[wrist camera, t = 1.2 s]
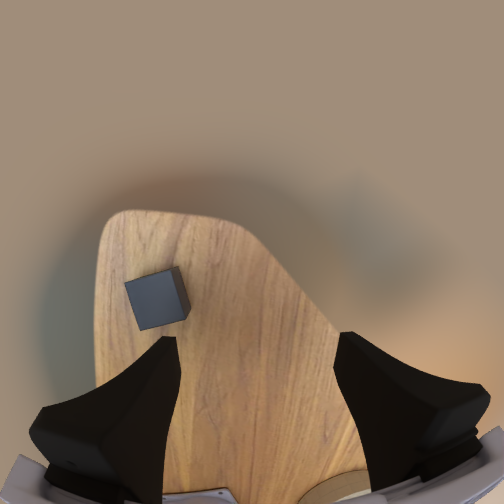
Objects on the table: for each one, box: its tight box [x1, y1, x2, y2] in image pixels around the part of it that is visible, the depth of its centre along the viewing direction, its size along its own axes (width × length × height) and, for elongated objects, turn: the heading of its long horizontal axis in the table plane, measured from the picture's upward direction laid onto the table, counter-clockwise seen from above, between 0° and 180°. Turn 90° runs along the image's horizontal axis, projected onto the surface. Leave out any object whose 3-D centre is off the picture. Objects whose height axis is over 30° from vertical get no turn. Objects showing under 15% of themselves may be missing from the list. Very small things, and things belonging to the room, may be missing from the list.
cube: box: [125, 267, 191, 331], centre depth 20 cm, size 4×4×4 cm
